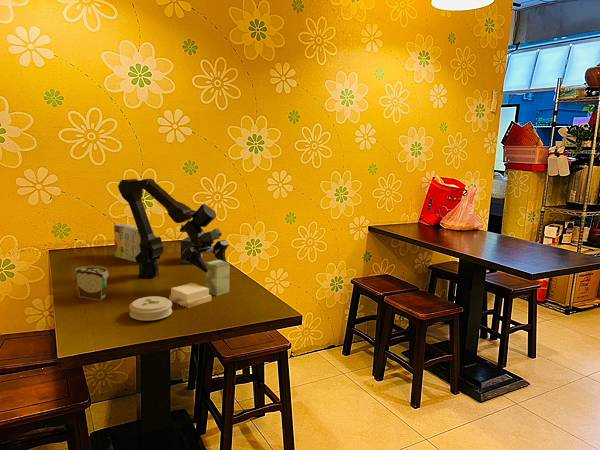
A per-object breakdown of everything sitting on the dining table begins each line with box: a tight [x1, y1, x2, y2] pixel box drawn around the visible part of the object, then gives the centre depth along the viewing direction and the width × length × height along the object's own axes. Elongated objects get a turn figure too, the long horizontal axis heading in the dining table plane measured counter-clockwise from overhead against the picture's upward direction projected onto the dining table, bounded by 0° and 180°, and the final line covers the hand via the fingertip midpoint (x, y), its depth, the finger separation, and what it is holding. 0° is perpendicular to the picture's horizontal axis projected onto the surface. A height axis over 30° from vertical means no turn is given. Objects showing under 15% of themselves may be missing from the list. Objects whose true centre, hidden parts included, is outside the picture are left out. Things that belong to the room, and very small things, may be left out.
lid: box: [129, 295, 173, 321], centre depth 142 cm, size 13×13×5 cm
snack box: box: [113, 223, 155, 263], centre depth 202 cm, size 21×6×15 cm, turn 58°
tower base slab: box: [168, 294, 213, 309], centre depth 156 cm, size 10×10×2 cm
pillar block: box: [205, 259, 231, 297], centre depth 165 cm, size 6×6×11 cm
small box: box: [180, 236, 204, 265], centre depth 204 cm, size 11×6×10 cm, turn 168°
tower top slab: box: [170, 282, 210, 302], centre depth 155 cm, size 9×9×2 cm
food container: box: [74, 265, 110, 302], centre depth 155 cm, size 12×6×10 cm, turn 71°
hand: (216, 269), depth 165 cm, fingers open, 9 cm apart
